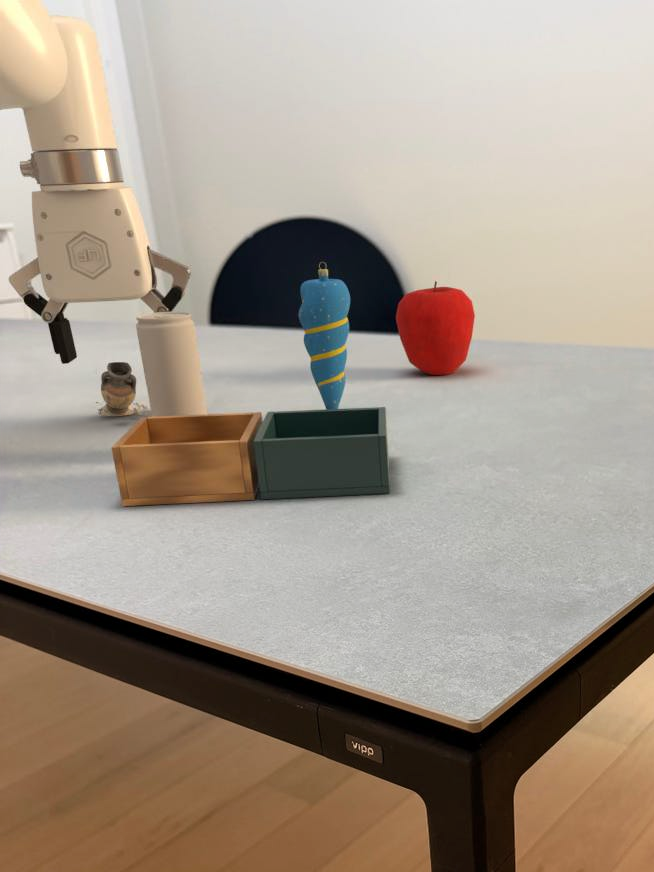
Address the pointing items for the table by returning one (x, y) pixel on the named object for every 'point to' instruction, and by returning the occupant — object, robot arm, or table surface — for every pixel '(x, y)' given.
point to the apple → (436, 328)
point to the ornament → (326, 333)
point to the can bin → (323, 453)
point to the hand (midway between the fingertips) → (117, 358)
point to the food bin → (188, 459)
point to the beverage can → (171, 364)
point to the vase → (119, 390)
